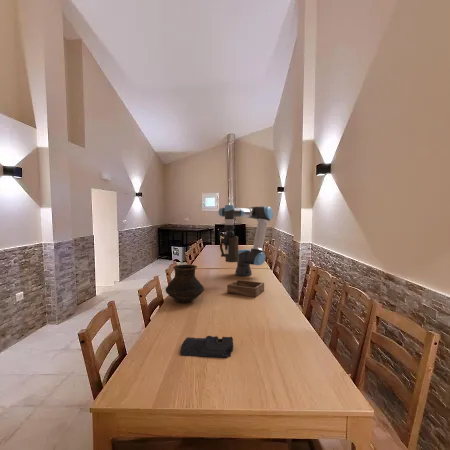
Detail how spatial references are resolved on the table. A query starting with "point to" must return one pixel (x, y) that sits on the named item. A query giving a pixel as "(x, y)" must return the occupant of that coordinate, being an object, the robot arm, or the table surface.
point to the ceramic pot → (184, 284)
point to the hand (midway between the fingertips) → (229, 252)
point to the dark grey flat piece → (207, 347)
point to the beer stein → (231, 249)
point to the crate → (245, 288)
